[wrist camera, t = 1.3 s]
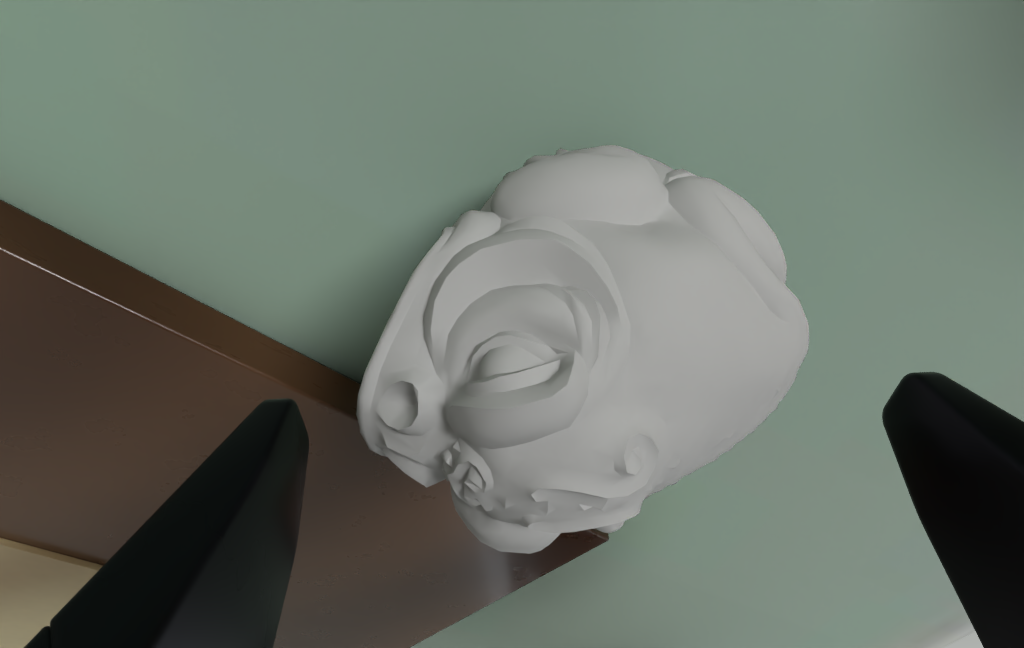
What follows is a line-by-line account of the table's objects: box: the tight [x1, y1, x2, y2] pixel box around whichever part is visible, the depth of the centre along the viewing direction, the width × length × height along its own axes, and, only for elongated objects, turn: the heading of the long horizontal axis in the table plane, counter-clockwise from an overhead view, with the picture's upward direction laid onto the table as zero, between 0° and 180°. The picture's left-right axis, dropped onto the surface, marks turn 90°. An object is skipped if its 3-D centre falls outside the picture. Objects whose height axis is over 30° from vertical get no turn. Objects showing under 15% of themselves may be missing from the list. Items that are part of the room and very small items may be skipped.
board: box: [0, 200, 609, 648], centre depth 19 cm, size 20×20×1 cm
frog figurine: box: [356, 145, 809, 554], centre depth 10 cm, size 6×7×7 cm
